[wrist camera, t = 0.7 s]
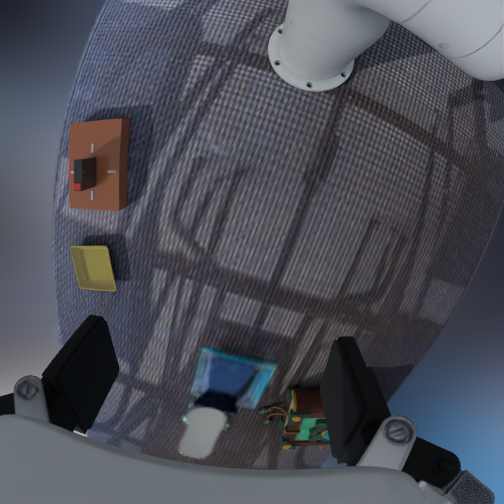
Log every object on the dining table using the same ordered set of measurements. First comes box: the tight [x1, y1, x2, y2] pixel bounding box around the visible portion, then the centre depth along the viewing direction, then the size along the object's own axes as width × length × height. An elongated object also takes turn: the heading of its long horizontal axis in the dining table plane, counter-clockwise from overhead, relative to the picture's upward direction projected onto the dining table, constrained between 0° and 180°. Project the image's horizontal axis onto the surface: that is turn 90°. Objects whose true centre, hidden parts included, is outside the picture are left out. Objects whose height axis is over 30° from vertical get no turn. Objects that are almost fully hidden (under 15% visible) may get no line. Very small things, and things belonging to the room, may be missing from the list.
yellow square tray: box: [70, 246, 117, 291], centre depth 45 cm, size 9×9×2 cm
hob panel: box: [69, 118, 130, 211], centre depth 38 cm, size 14×10×3 cm
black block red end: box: [74, 157, 96, 191], centre depth 35 cm, size 5×2×4 cm, turn 174°
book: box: [257, 388, 330, 449], centre depth 54 cm, size 27×21×10 cm
